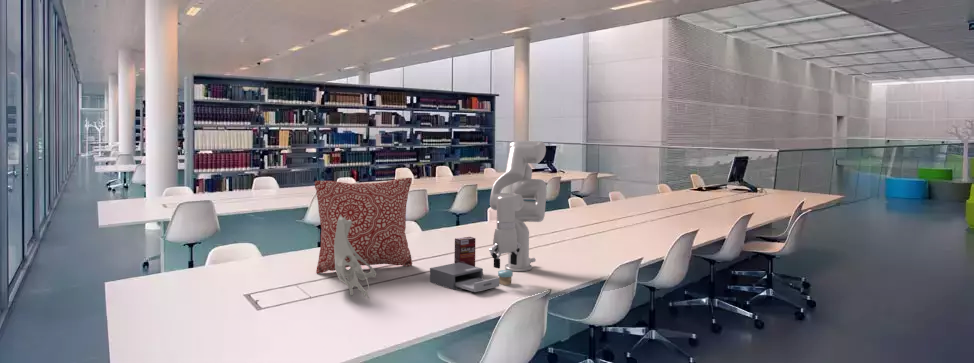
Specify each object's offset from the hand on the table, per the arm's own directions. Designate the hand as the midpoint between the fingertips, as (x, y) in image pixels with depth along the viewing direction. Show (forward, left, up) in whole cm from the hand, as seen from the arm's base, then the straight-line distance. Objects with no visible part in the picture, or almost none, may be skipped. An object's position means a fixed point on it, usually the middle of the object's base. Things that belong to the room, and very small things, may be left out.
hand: (505, 266), depth 242 cm
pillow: (+31, -60, -8) cm, 68 cm away
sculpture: (+51, -32, -8) cm, 61 cm away
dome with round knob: (0, 0, -4) cm, 4 cm away
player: (+14, -14, -8) cm, 21 cm away
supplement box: (+1, -25, -8) cm, 26 cm away
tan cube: (0, 0, -8) cm, 8 cm away
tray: (+14, -3, -6) cm, 16 cm away
